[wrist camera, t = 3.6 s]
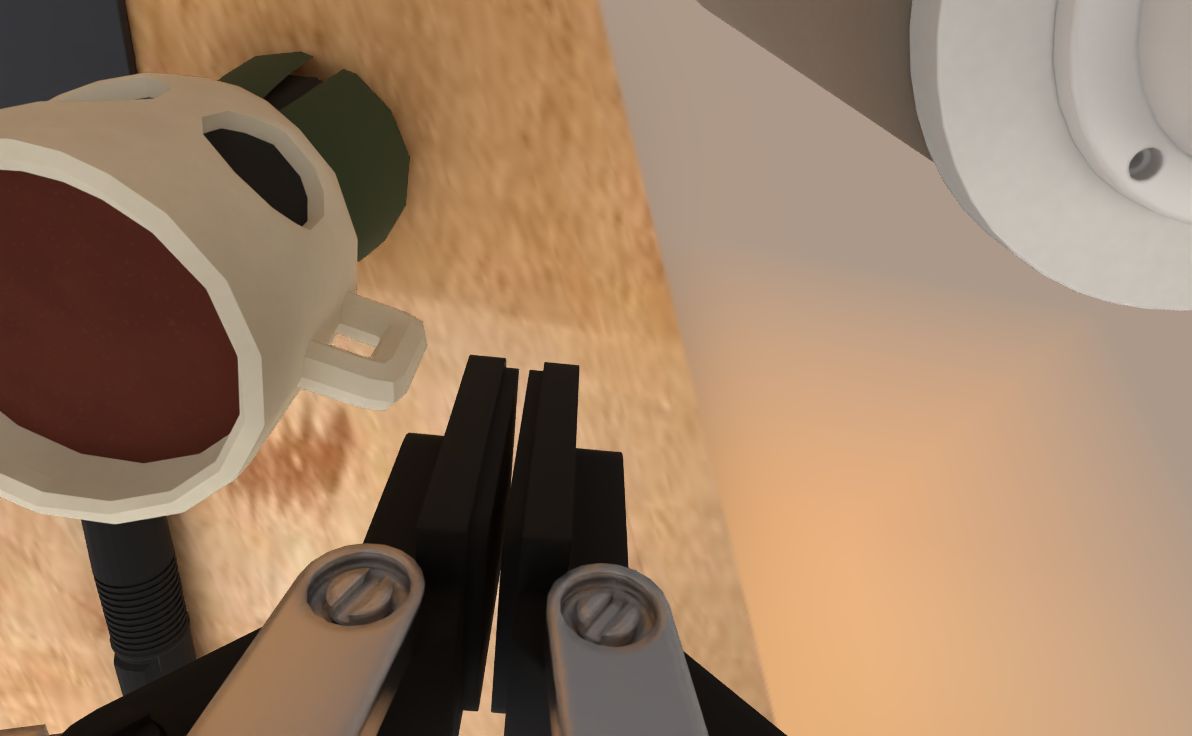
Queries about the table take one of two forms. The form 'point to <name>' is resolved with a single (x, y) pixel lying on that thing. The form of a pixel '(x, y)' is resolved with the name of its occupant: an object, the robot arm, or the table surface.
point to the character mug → (187, 279)
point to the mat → (60, 47)
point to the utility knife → (140, 598)
